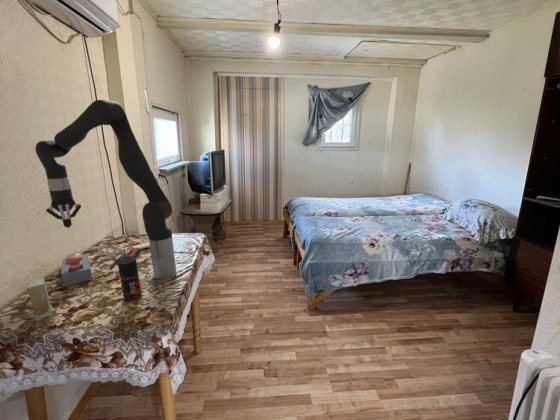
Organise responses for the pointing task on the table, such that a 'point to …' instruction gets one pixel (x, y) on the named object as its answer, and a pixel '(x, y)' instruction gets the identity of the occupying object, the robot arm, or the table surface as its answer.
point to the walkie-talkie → (127, 255)
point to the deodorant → (129, 279)
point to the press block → (76, 272)
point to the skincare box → (39, 298)
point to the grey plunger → (74, 254)
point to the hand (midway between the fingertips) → (68, 227)
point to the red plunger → (74, 262)
